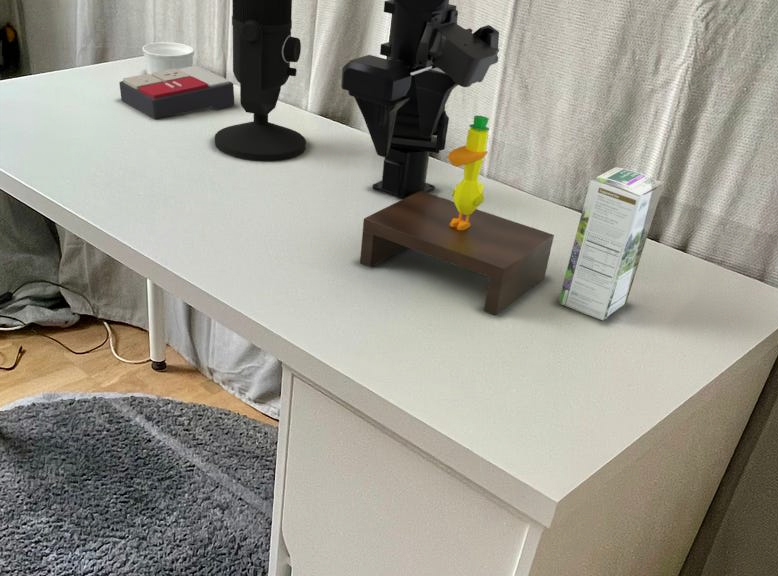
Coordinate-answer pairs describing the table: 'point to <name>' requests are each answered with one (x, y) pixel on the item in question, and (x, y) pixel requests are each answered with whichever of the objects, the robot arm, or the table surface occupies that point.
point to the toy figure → (469, 171)
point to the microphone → (262, 80)
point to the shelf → (461, 244)
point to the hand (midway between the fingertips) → (405, 146)
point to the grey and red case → (177, 91)
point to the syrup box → (609, 241)
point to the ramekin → (167, 56)
